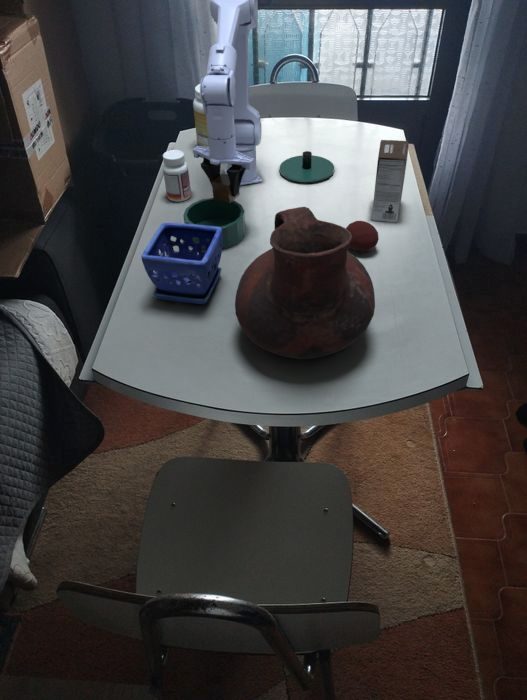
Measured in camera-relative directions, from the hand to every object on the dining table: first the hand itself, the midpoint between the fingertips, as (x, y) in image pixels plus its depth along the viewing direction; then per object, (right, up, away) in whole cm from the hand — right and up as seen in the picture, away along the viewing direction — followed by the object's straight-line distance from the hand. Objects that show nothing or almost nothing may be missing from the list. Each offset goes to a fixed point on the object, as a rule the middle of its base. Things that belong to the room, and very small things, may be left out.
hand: (226, 192), depth 136 cm
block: (0, -1, +1) cm, 1 cm away
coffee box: (+38, -3, +8) cm, 39 cm away
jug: (+16, -33, -23) cm, 43 cm away
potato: (+30, -13, -3) cm, 33 cm away
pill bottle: (-13, +3, +16) cm, 21 cm away
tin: (-3, -9, +3) cm, 10 cm away
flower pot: (-7, -24, -12) cm, 28 cm away
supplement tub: (-4, +22, +36) cm, 42 cm away
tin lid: (+20, +12, +23) cm, 33 cm away
